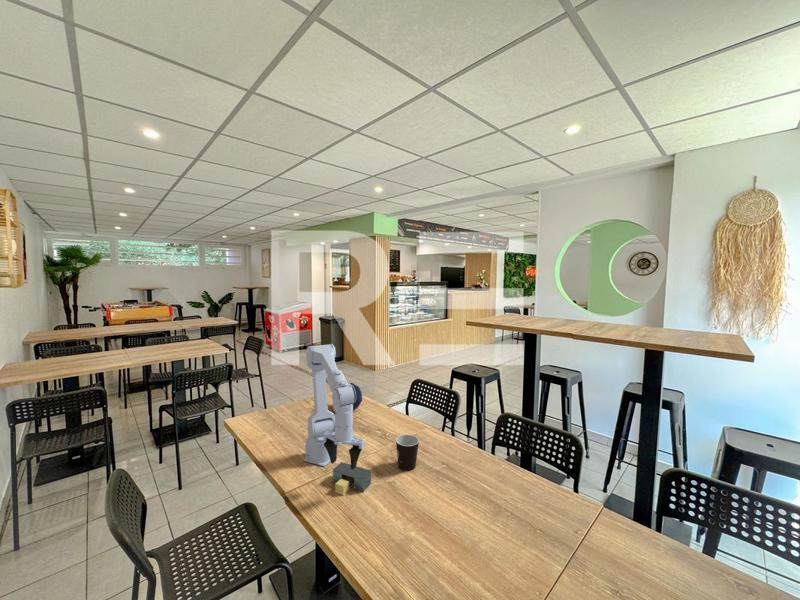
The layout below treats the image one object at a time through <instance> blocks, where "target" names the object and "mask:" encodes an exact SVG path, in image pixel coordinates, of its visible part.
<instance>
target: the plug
mask: <svg viewBox="0 0 800 600" xmlns="http://www.w3.org/2000/svg"><path fill="white" fill-rule="evenodd" d="M334 485H335V490H334V491H335V493H336V494H339V495H341V496H345V495H346V494H347V493H348V492H349V491H350V488H351V487H352V486H353V485H354V478H353V477H349V476H348V477H347V478H345V479H340V480H339V481H338V482H337V483H334Z"/></svg>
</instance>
